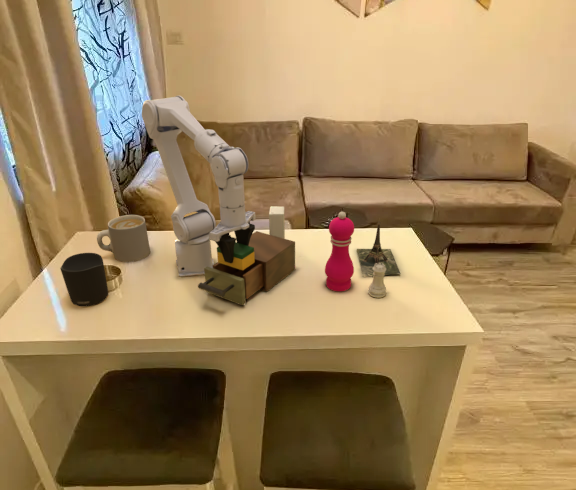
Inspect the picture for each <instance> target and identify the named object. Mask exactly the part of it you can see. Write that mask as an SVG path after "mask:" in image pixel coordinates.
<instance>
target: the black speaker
mask: <svg viewBox="0 0 576 490" xmlns="http://www.w3.org/2000/svg"><path fill="white" fill-rule="evenodd" d="M59 269H60V272H61V275H62V278H63V281H64V284H65V288H66V290H67V291H66V292H67V294H68V296H69V299H70V301H71V303H72V304H73V305H74V306H77V307H83V308H87V307H92V306H97V305H98V304H101V303H103V302H104V301H106V299H107V298H108V296H109V289H108V282H107V276H106V270H105V263H104V259H103V257H102V255H100V254H99V253H96V252H80V253H76V254H73V255H70V256H68V257H67V258H66V259H65V260H64V261H63V263H62V265H61V266H60V267H59Z"/></svg>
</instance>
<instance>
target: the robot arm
mask: <svg viewBox="0 0 576 490" xmlns="http://www.w3.org/2000/svg"><path fill="white" fill-rule="evenodd" d="M141 118H142V121H143V125H144V127H145V130H146V132H147V135H148V137H149V139H151V140H154V143H155V146H156V148H157V152H158V154H159V157H160V159H161V162H162V165H163V167H164V172H165V174H166V176H167V179H168V182H169V185H170V187H171V190H172V193H173V196H174V199H175V201H176V204H177V205H176V207H175V209H174V210H173V212H172V214H171V215H170V218H171V222H172V229H173V233H174V235H175V237H176V239H175V240H174V248H175V255H176V256H175V257H176V260H175V264H176V267H177V270H178V277H179V278H180V277H181V278H183V277H191V276H201V275H205V273H204V268H205V267H207V266H208V267H211V268H213V265H214V264H215V262H214V258H213V256H212V255H213V254H212V245H211V244H212V243H211V241H212V242H214V243H215V244H216V245H217V247H219V248H220V250H221V253H222V255H223V258H224V261H225V262H228V263H233V259H234V245H235V242H237V243H240V244H243V245H247V246H248V245H249V241H250V238H251V235H252V234H253V233H254V232H255V229H256V225H255V224H253V223H251V221H252V222H254V221H256V220H257V219H256V212H255V211H251V210H248V211H246V200H245V199H246V198H245V197H246V196H245V182H244V181H245V179H244V174H247V172H248V170H249V158H248V156H247V154H246V152H245V151H244V150H243V149H242V148H241V147H234V146H230V145H229V144H228V143H227V142H226V141H225V140H224V139H223V138H222V137H221V136H219V134H218V133H217V132H216V131H215V130H214V129H208V128H204V127H203V126H202V124H201V122H199V121H198V120H197V119H196V118H195V116H194V115H193V114H192V113H191V109H190V104H189V102H188V101H187V100H186V99H185V98H184V97H183V96H182V95H175V96H170V97H166V98H165V97H164V98H157V99H146V100H144V101H143V104H142V107H141ZM181 133H184V135H186V136H188V137H189V138H190V139H191V140H192V141H193V146H194V149H195V151H197V153H199V154H200V155H201V156H202V157H203V158H204V159H205V161H207V163H209V165H210V170H211V173H212V175H213V177H214V183H215V186H216V187H217V190H218V192H217V193H218V203H219V214H220V215H219V216H220V221H219V223H217V222H216V218H215V216H214V214H213V213H212V211H211V210H210V207H209V206H208V204H207V203H205V202H203V201H201V200H199V199H198V198H197V195H196V192H195V190H194V187H193V184H192V180H191V178H190V175H189V172H188V170H187V166H186V164H185V161H184V158H183V155H182V152H181V149H180V147H179V144H178V140H177V139H178V136H179V134H181ZM188 214H189V215H188ZM233 232H234V236H235V237H233V236H231V234H230V233H233Z"/></svg>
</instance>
